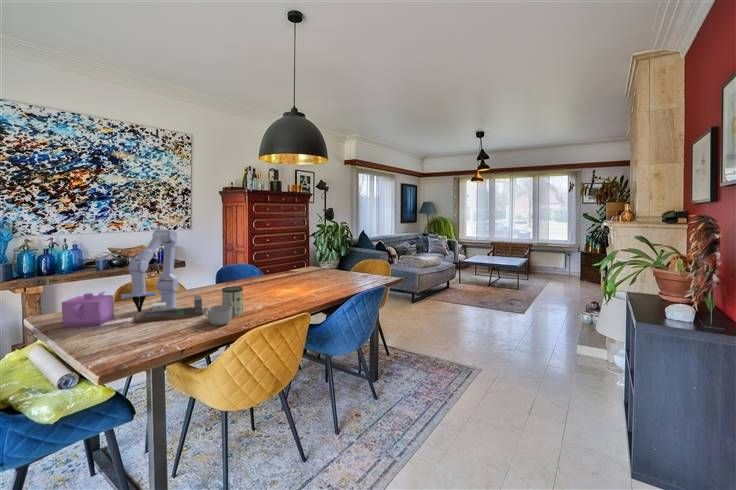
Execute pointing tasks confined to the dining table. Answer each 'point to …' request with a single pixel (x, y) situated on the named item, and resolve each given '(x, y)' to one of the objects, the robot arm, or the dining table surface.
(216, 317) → the teacup
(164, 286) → the robot arm
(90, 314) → the purple box
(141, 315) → the gauge base
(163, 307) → the gauge slider
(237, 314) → the coffee can
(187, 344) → the dining table surface
